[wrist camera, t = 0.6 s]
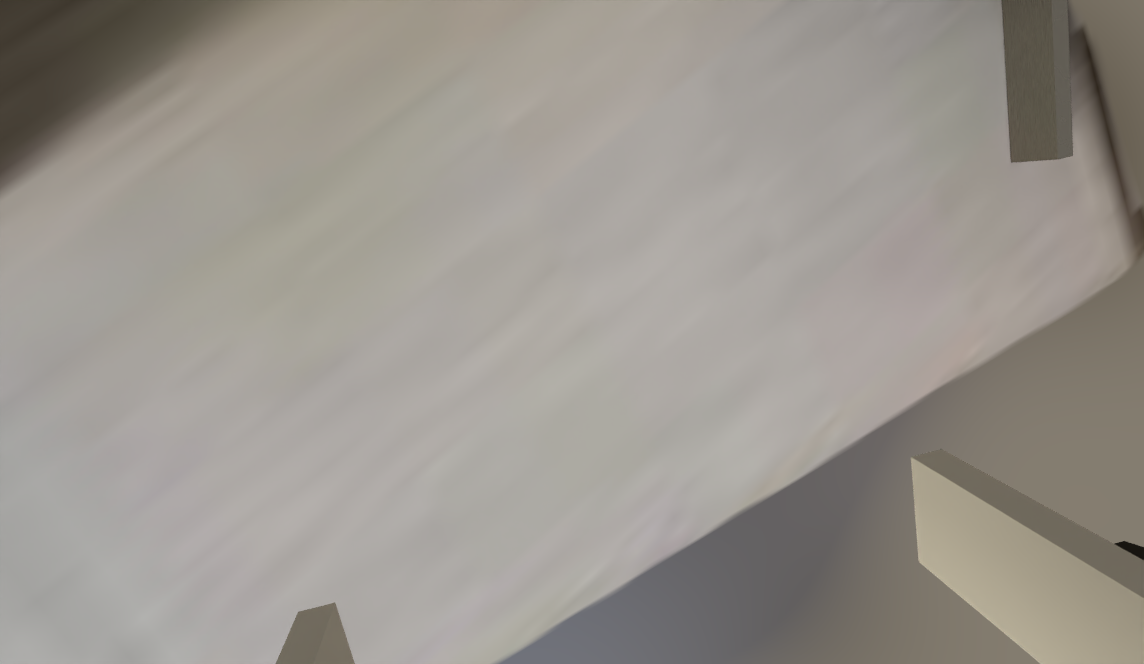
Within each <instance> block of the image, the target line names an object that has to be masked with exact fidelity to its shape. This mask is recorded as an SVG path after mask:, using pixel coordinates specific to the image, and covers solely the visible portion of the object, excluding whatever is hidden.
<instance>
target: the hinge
mask: <svg viewBox="0 0 1144 664" xmlns="http://www.w3.org/2000/svg"><path fill="white" fill-rule="evenodd" d="M1002 10H1003V28H1004V45H1005V63H1006V81H1007V98H1008V116H1009V134H1010V151H1011V163H1013V162H1027V161H1041V160H1055V159H1061V158H1066V157H1070V156H1073V143H1072V114H1071V86H1070V57H1069V29H1068V1H1067V0H1002Z"/></svg>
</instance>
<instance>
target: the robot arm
mask: <svg viewBox="0 0 1144 664" xmlns="http://www.w3.org/2000/svg"><path fill="white" fill-rule="evenodd" d="M911 465H912V478H913V490H914V491H913V492H914V505H915V517H916V531H917V544H918V557H919V562H920V563H921V564H922V565H923V566H925V567H926V568H927V569H928V570H929V571H931V572H932V573H933V574H934V575H935V576H936V577H938V578H939V579H940V580H942V581H943V582H944V583H945V584H946V585H947V586H948V587H950V588H951V589H952V590H953V591H955V592H956V593H957V594H958V595H959V596H960V597H962V598H963V599H964V600H965V601H966V602H968V603H969V604H970V605H971V606H973V607H974V608H975V609H976V610H977V611H978V612H980V613H981V614H982V615H983V616H984V617H986V618H987V619H988V620H989V621H990V622H992V623H993V624H994V625H995V626H997V627H998V628H999V629H1000V630H1001V631H1003V633H1005V634H1006V635H1007V636H1008V637H1009V638H1011V639H1012V640H1013V641H1014V642H1015V643H1017V644H1018V645H1019V646H1020V647H1021V648H1023V649H1024V650H1025V651H1026V652H1028V653H1029V654H1030V655H1031V656H1032V657H1033V658H1035V659H1036V660H1037V661H1038V662H1039V663H1041V664H1144V547H1141V546H1138V545H1135V544H1132V543H1128V542H1125V541H1123V542H1119V543H1115V544H1113V543H1111V542H1109V541H1108V540H1106V539H1104V538H1102V537H1100V536H1099V535H1097V534H1095V533H1093V532H1091V531H1089V530H1088V529H1086V528H1084V527H1082V526H1080V525H1078V524H1077V523H1075V522H1073V521H1071V520H1069V519H1068V518H1066V517H1064V516H1062V515H1060V514H1059V513H1057V512H1055V511H1053V510H1051V509H1049V508H1048V507H1045V506H1044V505H1042V504H1040V503H1038V502H1036V501H1035V500H1033V499H1031V498H1029V497H1028V496H1026V495H1024V494H1022V493H1020V492H1019V491H1017V490H1015V489H1013V488H1011V487H1009V486H1008V485H1006V484H1004V483H1002V482H1000V481H998V480H996V479H995V478H993V477H991V476H989V475H988V474H986V473H984V472H982V471H980V470H979V469H976V468H975V467H973V466H971V465H970V464H968V463H966V462H964V461H962V460H960V459H959V458H957V457H955V456H953V455H951V454H949V453H948V452H946V451H944V450H942V449H940V450H936V451H932V452H928V453H925V454H920V455H917V456H912V457H911ZM276 664H355V663H354V660H353V657H352V654H351V651H350V648H349V644H348V641H347V638H346V635H345V632H344V629H343V626H342V623H341V619H340V616H339V613H338V610H337V607H336V604H335V603H332V604H328V605H324V606H320V607H316V608H312V609H308V610H304V611H300V612H298V614H297V616H296V618H295V621H294V623H293V625H292V628H291V630H290V632H289V634H288V637H287V639H286V641H285V644H284V646H283V648H282V651H281V653H280V655H279V657H278V660H277V662H276Z"/></svg>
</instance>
